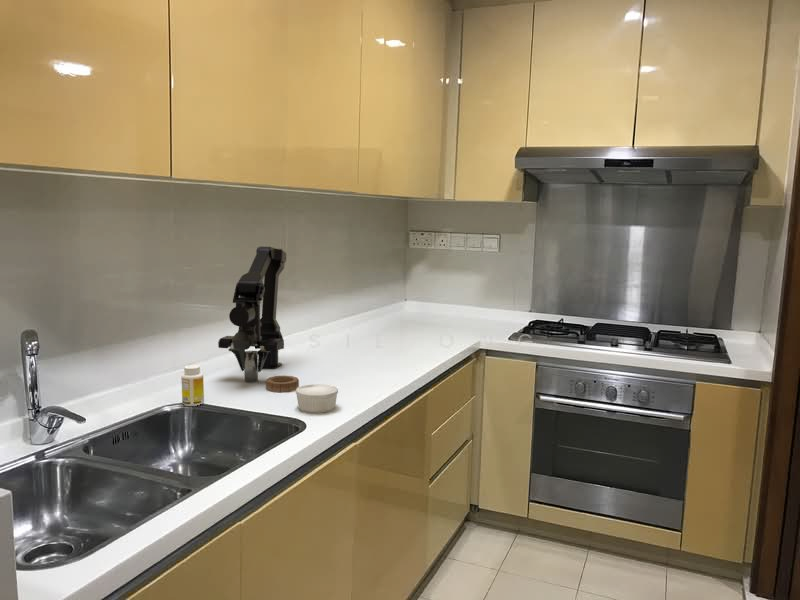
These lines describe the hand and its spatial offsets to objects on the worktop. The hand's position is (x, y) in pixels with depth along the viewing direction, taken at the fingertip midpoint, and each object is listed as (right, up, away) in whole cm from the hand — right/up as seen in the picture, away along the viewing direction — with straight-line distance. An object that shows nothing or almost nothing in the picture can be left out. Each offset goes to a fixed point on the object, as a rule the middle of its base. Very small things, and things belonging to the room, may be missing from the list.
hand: (251, 371), depth 200 cm
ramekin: (+23, -7, -25) cm, 35 cm away
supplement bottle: (-10, -6, -24) cm, 27 cm away
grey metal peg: (0, -3, 0) cm, 3 cm away
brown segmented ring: (+11, -4, -7) cm, 13 cm away
